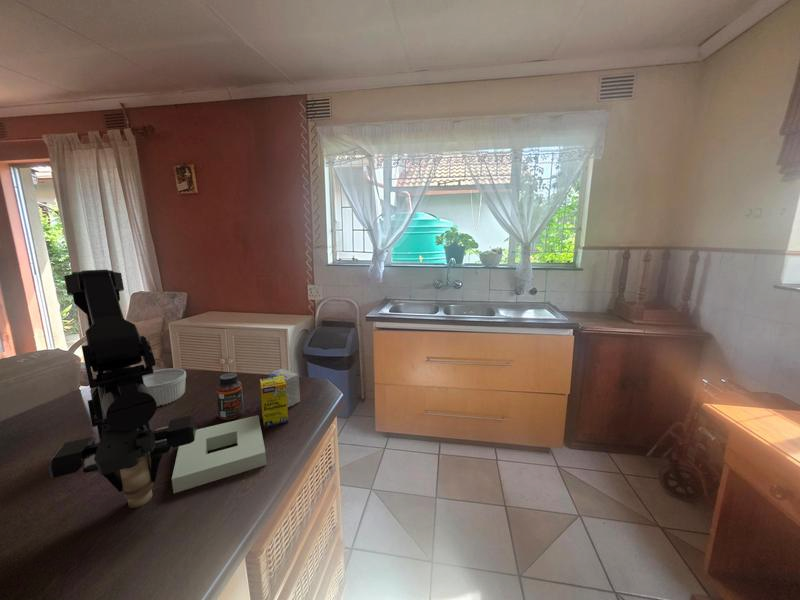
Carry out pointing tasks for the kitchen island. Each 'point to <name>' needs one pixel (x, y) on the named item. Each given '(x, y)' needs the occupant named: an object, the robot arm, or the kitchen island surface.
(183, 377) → the ramekin
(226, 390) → the supplement bottle
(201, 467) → the socket plate
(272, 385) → the supplement box
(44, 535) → the kitchen island surface
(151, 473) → the robot arm
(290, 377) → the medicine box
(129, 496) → the wooden peg
